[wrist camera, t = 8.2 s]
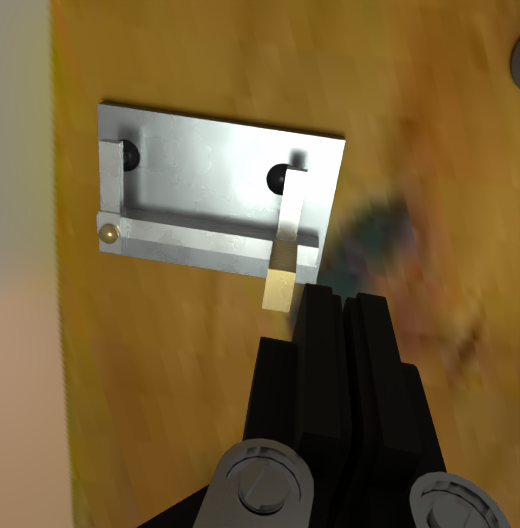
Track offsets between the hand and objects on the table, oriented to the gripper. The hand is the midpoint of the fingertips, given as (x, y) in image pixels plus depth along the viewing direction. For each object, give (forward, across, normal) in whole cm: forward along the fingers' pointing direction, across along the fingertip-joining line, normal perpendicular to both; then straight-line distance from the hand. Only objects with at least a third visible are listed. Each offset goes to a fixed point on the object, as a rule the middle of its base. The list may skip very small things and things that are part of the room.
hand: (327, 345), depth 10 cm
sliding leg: (+26, +1, +8) cm, 27 cm away
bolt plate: (+27, +6, +8) cm, 29 cm away
